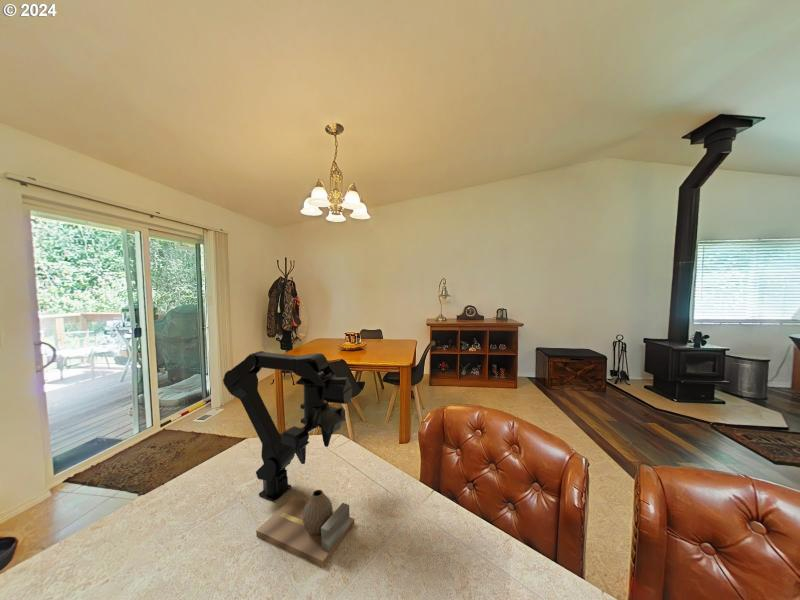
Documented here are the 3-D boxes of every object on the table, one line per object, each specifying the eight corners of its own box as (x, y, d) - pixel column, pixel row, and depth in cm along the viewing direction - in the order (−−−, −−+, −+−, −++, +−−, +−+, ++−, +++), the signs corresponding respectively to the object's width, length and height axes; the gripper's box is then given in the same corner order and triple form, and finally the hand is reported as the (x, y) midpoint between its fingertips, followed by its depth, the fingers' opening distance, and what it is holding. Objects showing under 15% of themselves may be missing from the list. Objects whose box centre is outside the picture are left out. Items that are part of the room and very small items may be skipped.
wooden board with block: (256, 536, 68) (255, 510, 68) (293, 501, 79) (292, 479, 79) (323, 567, 60) (322, 538, 60) (354, 524, 71) (353, 499, 71)
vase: (326, 542, 64) (325, 505, 64) (297, 539, 65) (296, 502, 65) (337, 518, 71) (336, 484, 71) (311, 515, 72) (310, 482, 72)
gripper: (312, 419, 67) (313, 483, 68) (357, 393, 84) (358, 445, 84) (279, 410, 72) (280, 470, 73) (328, 387, 89) (328, 436, 89)
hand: (315, 454), depth 80 cm, fingers open, 9 cm apart
